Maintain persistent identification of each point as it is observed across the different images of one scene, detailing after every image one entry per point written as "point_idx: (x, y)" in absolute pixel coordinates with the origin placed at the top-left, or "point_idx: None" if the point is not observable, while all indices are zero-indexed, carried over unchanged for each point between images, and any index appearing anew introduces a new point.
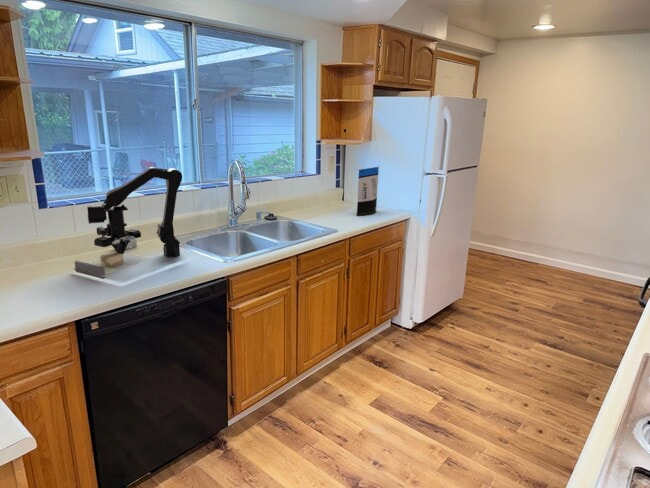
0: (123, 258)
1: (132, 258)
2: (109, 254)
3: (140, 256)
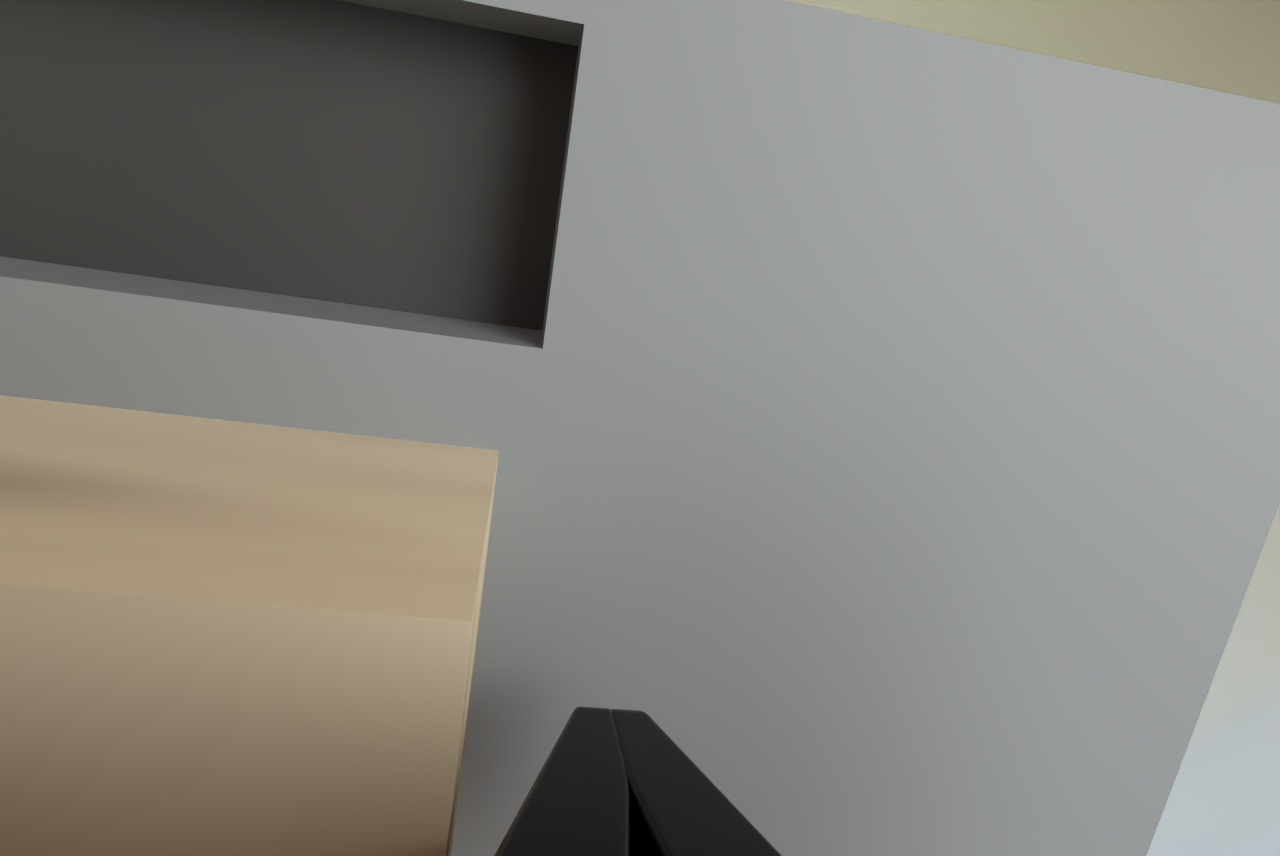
0: (837, 543)
1: (916, 767)
2: (11, 820)
3: (1134, 818)
